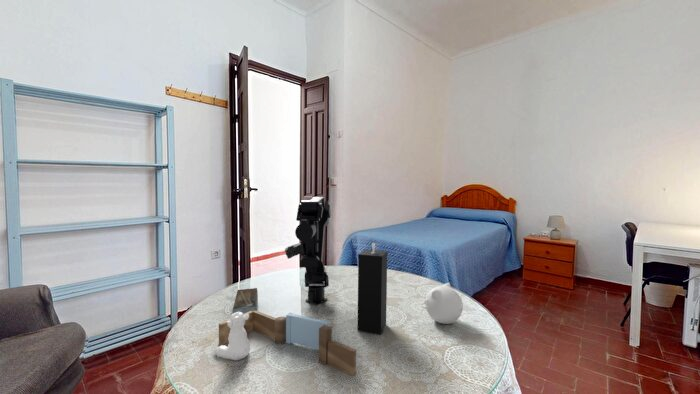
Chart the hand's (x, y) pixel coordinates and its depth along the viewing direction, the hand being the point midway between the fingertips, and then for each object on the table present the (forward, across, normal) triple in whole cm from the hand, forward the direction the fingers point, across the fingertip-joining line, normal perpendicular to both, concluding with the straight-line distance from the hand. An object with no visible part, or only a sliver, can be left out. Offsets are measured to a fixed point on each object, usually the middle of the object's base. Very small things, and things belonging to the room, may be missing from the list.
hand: (309, 280), depth 106 cm
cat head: (+13, +9, +46) cm, 49 cm away
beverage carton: (+14, -6, -23) cm, 27 cm away
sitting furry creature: (+13, +22, -19) cm, 32 cm away
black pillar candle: (+13, +10, +20) cm, 26 cm away
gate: (+13, +20, -1) cm, 24 cm away
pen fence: (+13, +24, -7) cm, 28 cm away
